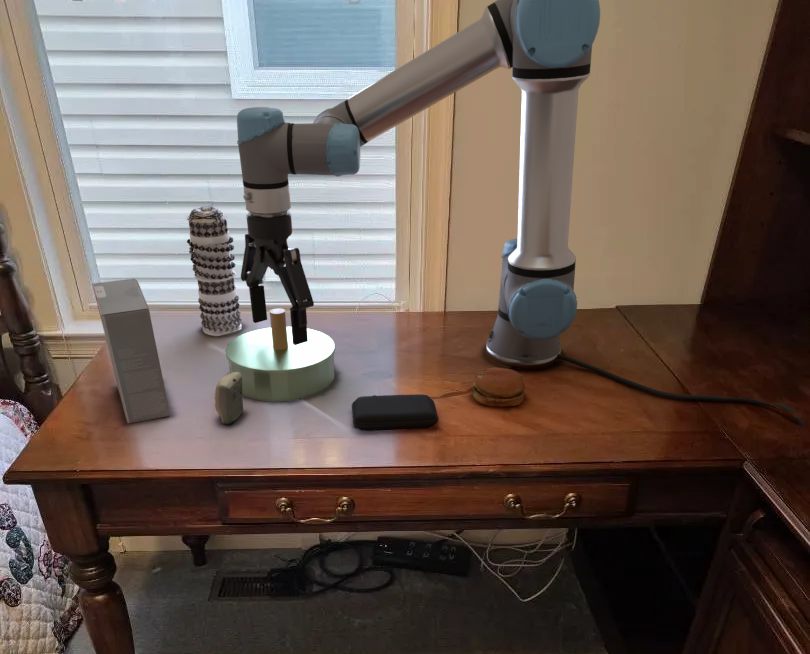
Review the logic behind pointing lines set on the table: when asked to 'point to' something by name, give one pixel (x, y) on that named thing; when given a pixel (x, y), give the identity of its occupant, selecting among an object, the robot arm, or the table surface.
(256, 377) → the pot
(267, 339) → the pot lid
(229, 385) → the beige rounded block
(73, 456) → the table surface
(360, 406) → the carrying case
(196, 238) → the white patterned cylinder
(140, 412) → the hard drive box
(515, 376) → the burger
